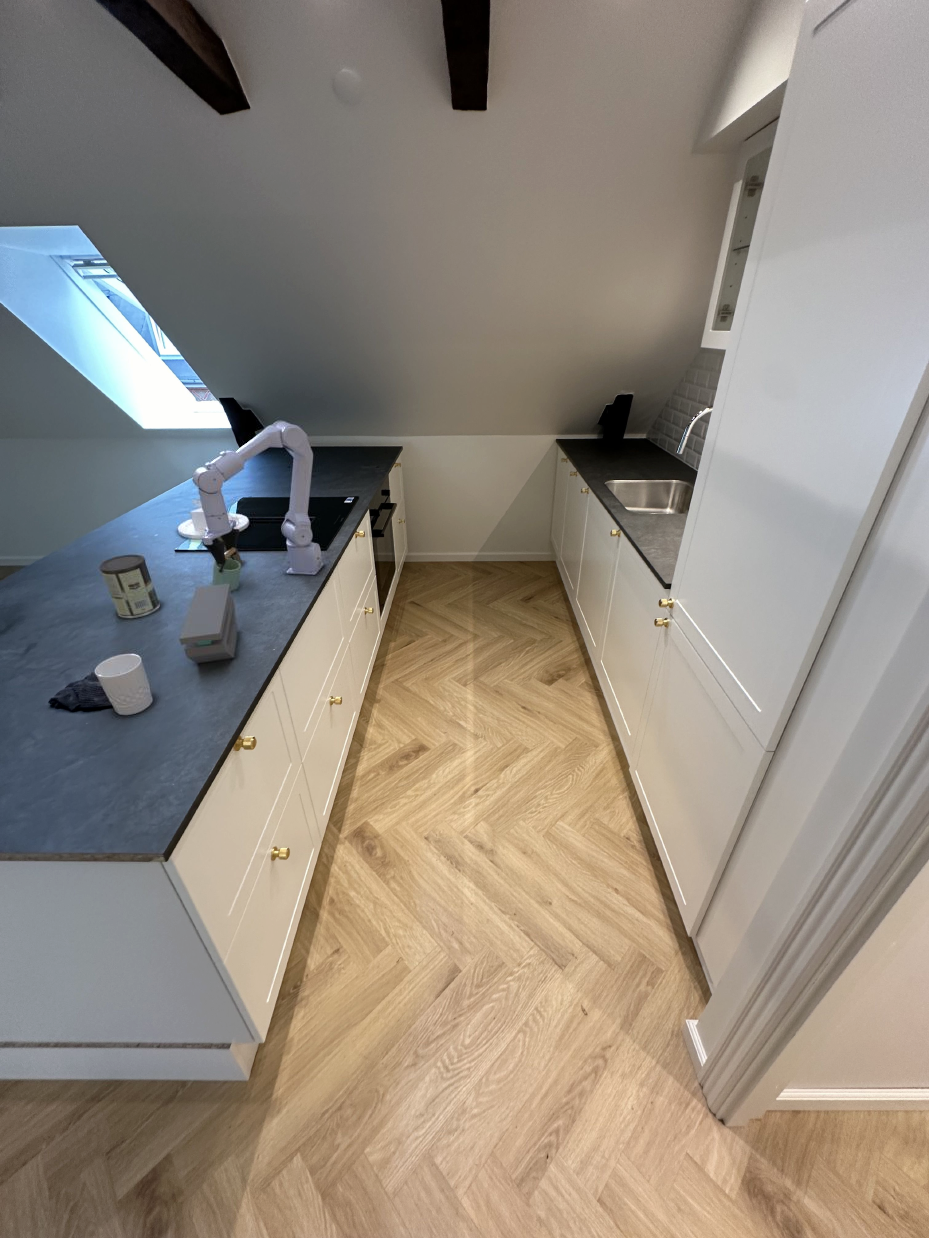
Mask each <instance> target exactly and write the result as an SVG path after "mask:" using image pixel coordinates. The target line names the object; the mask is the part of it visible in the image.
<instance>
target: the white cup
mask: <svg viewBox="0 0 929 1238" xmlns="http://www.w3.org/2000/svg"><path fill="white" fill-rule="evenodd" d="M144 666H145V665H144V663H143V660H142V657H141V656H140V655H138V654H136V653H125V654H124V653H123V654H117V655H115V656H111V657H109V658H107V659H105V660H103V661H102V662H100V663H99V664H98V665H97V666H96V667H95V669H94V674H95V676H96V678H97V680H98V682H99V684H100V685H101V688H102V690H103V691H104V693H105V695H106V697H107V699H108V701H109V702H110V703H111V705H112V708H113V709H114V711H115V713H116V714H118V715H121V716H130V715H135V714H137V713H138V714H139V713H140V712H143V711H144V710H146V709H147V708H148V707H150V706H151V705H152V703H153V702H154V700H153V695H152V692H151V687H150V683H149V678H148V676H147V673H146V669H145V667H144Z"/></svg>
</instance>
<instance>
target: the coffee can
mask: <svg viewBox="0 0 929 1238" xmlns="http://www.w3.org/2000/svg"><path fill="white" fill-rule="evenodd" d="M98 569H99V570H100V572H101V574H102V577H103V579H104V582H105V584H106V587H107V589H108V591H109V592H108V593H109V595H110V596H111V600H112V602H113V605H114V607H115V610H116V612H117V615H118V616H119V617H120V618H123V619H137V618H141V617H146V616H148V615H151V614H152V613H155V612H156V611H158V610H159V608H160V607H161V602H160V601H159V598H158V595H157V593H156V589H155V587H154V583H153V581H152V578H151V574H150V571H149V569H148V566H147V563H146V558H145V557H144V556H143V555H142V554H141V555H140V554H123V555H118V556H114V557H111V558H108V559H106V560H105V561H102V562H101V563H99V565H98Z"/></svg>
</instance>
